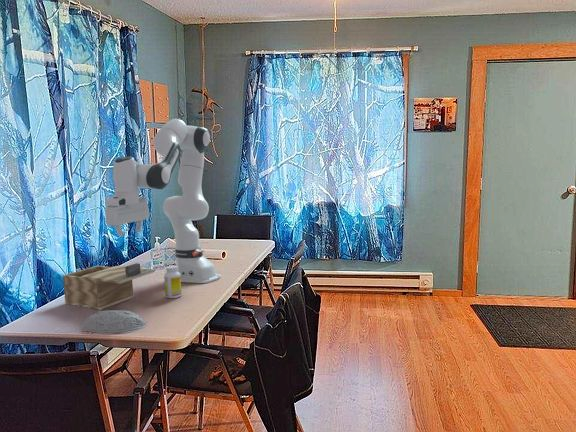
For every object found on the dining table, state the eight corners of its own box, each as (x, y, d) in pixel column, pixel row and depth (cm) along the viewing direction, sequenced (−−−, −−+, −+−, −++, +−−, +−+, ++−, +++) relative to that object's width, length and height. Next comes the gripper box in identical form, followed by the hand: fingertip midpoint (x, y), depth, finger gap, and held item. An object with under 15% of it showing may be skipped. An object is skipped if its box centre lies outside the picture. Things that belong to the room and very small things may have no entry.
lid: (154, 272, 218) (154, 260, 217) (120, 283, 202) (119, 271, 201) (117, 267, 228) (116, 256, 227) (81, 278, 212) (80, 266, 211)
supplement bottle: (184, 294, 227) (182, 265, 225) (176, 299, 221) (174, 269, 219) (170, 293, 229) (169, 264, 228) (162, 298, 223) (160, 268, 221)
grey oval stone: (137, 333, 182) (136, 314, 181) (70, 335, 186) (69, 315, 186) (156, 322, 197) (155, 304, 197) (94, 324, 201) (92, 306, 201)
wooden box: (133, 297, 225) (131, 269, 224) (100, 310, 210) (97, 280, 208) (99, 292, 235) (97, 265, 233) (65, 303, 219) (62, 275, 217)
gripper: (139, 195, 218) (142, 228, 220) (101, 201, 201) (104, 238, 203) (151, 195, 215) (154, 229, 218) (113, 202, 198) (116, 239, 200)
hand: (129, 233), depth 210 cm, fingers open, 8 cm apart
